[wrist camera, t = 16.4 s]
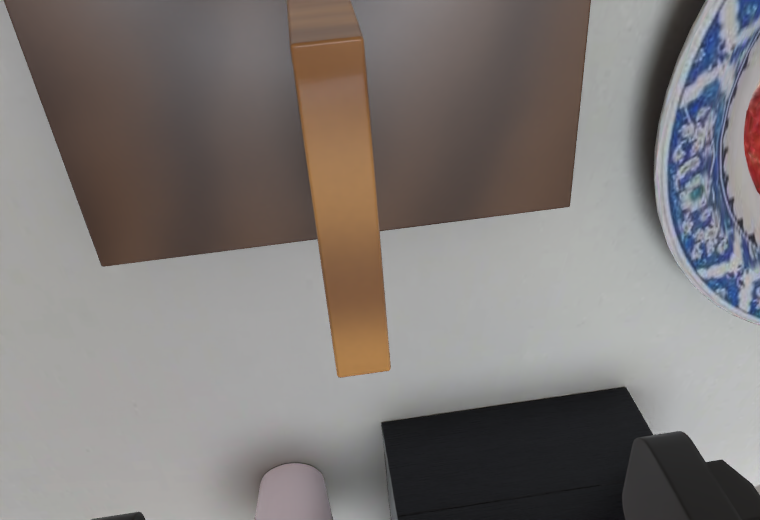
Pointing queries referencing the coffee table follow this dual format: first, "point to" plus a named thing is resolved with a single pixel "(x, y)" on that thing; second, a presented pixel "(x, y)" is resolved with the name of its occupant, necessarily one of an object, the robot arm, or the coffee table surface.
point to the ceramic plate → (714, 157)
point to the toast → (341, 177)
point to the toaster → (515, 460)
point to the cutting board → (282, 119)
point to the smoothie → (293, 494)
